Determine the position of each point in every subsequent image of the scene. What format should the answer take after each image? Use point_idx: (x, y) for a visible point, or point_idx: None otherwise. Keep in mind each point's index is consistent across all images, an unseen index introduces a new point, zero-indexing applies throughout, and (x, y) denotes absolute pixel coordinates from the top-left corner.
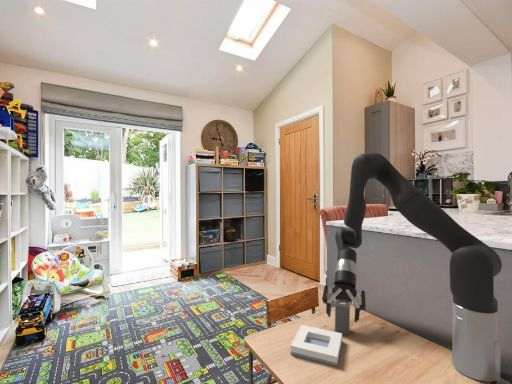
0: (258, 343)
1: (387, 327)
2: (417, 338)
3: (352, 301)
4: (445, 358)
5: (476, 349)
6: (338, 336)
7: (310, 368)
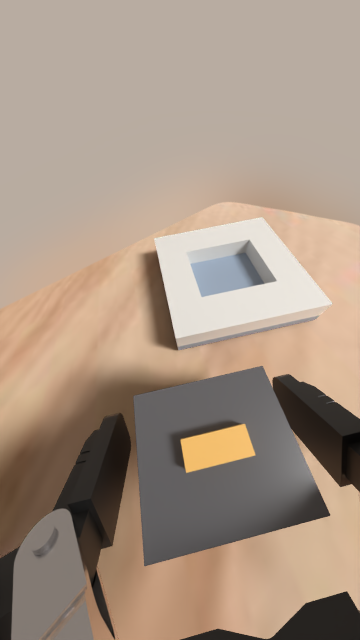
0: (339, 229)
1: None
2: None
3: (87, 600)
4: None
5: None
6: (180, 312)
7: None
